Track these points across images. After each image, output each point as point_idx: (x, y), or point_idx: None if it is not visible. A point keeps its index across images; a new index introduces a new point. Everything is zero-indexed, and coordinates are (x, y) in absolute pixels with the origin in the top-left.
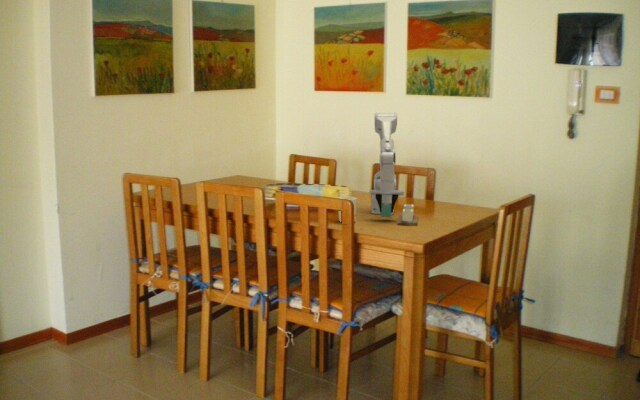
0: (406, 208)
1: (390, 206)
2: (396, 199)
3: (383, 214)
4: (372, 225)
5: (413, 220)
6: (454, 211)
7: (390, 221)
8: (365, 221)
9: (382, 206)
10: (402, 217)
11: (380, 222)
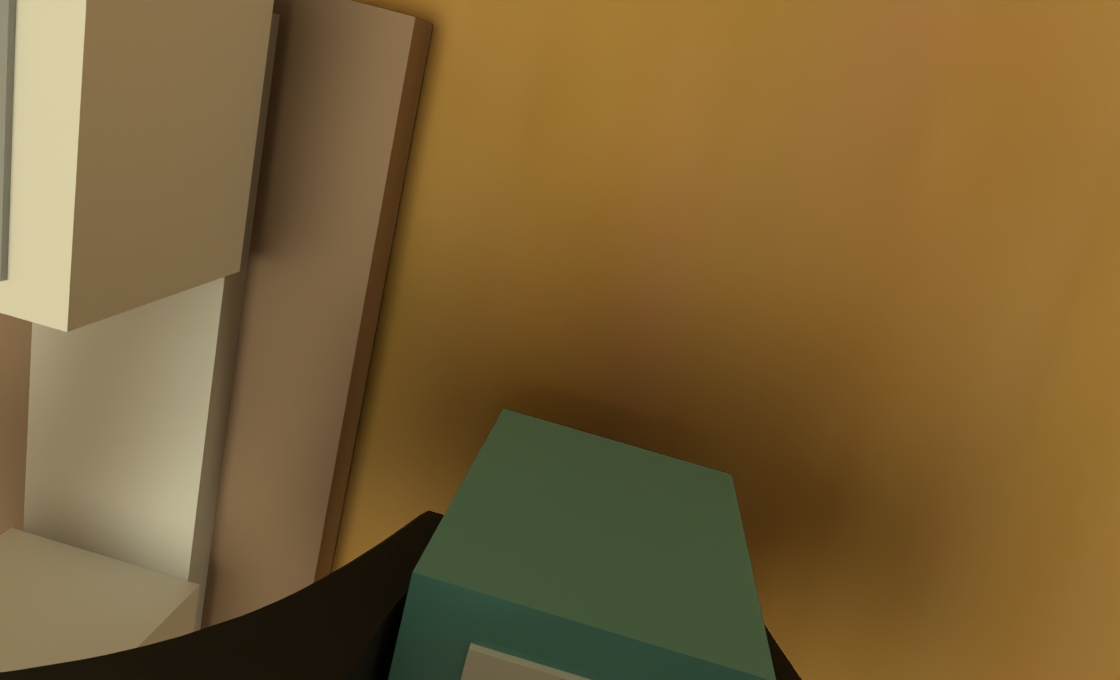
0: None
1: (447, 558)
2: (39, 669)
3: (682, 484)
4: (1057, 24)
5: None
6: None
7: None
8: (1075, 482)
9: (732, 634)
10: (243, 547)
11: (760, 343)
